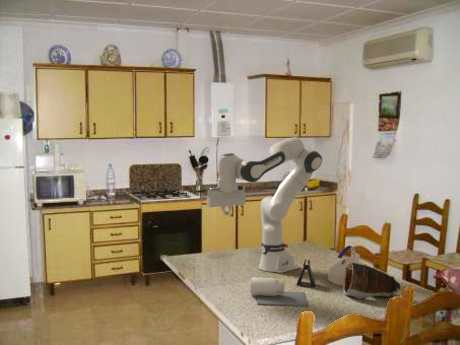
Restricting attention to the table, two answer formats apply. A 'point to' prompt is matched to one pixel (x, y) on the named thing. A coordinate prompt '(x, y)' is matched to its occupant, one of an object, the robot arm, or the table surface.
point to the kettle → (342, 266)
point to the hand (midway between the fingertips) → (226, 215)
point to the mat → (283, 299)
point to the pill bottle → (266, 287)
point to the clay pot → (368, 282)
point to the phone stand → (312, 280)
